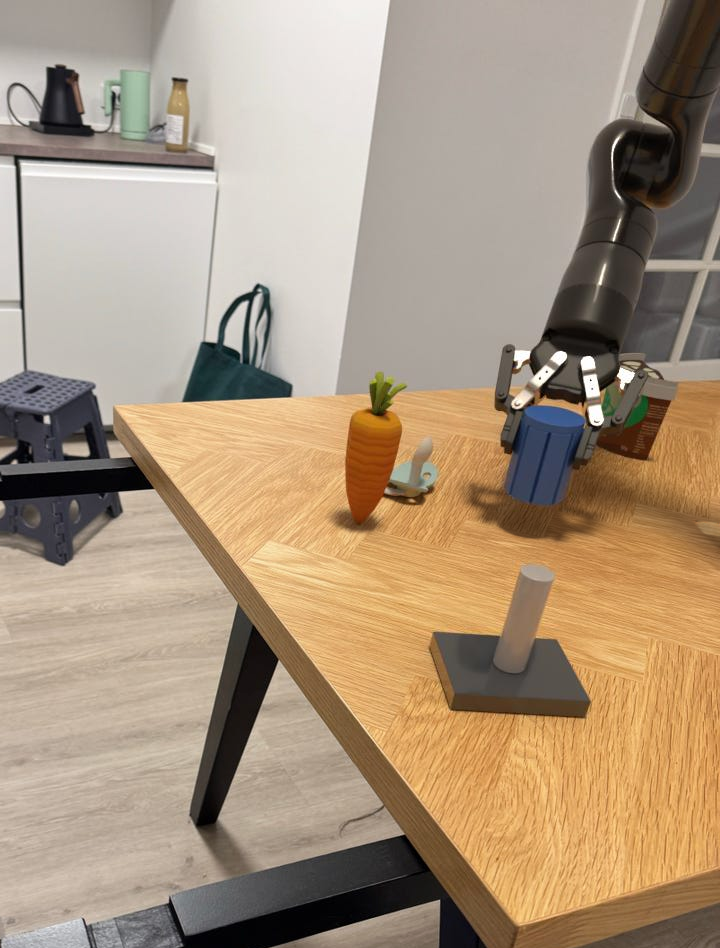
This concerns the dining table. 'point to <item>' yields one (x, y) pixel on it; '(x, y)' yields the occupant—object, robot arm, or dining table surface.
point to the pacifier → (414, 473)
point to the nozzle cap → (544, 455)
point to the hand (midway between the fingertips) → (541, 458)
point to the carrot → (372, 448)
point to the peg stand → (511, 660)
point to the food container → (638, 410)
